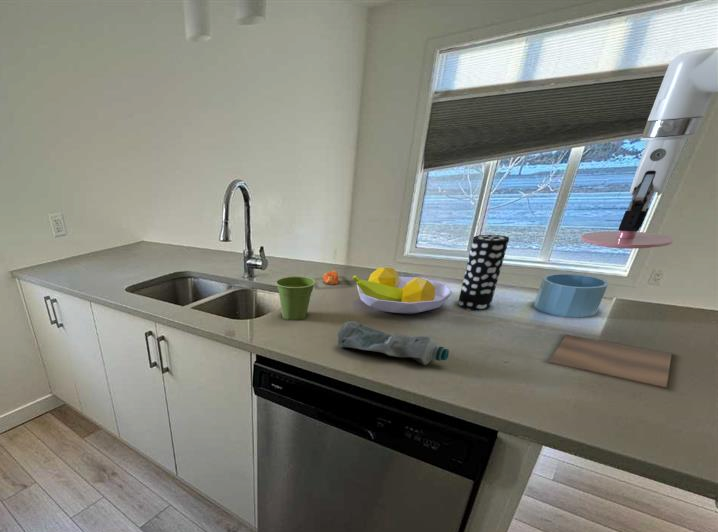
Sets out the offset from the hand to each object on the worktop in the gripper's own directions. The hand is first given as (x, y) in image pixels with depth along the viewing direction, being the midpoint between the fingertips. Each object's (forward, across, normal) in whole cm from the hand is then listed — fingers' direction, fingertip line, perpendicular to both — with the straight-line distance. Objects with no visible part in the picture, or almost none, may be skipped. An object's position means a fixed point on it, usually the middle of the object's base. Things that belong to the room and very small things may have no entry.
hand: (629, 228), depth 88 cm
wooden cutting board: (+25, -14, -6) cm, 29 cm away
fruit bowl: (+25, -6, +45) cm, 52 cm away
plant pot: (+25, -31, +66) cm, 77 cm away
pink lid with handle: (+2, 0, 0) cm, 2 cm away
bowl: (+25, +16, +7) cm, 30 cm away
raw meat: (+23, +4, +74) cm, 78 cm away
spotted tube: (+25, +5, +27) cm, 37 cm away
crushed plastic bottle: (+25, -39, +31) cm, 56 cm away
